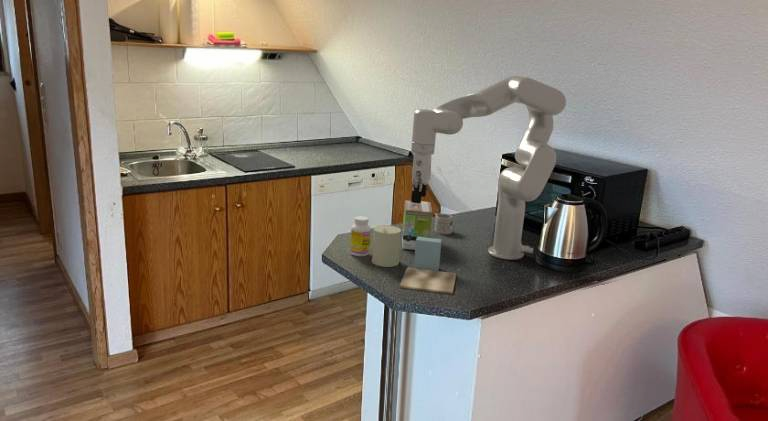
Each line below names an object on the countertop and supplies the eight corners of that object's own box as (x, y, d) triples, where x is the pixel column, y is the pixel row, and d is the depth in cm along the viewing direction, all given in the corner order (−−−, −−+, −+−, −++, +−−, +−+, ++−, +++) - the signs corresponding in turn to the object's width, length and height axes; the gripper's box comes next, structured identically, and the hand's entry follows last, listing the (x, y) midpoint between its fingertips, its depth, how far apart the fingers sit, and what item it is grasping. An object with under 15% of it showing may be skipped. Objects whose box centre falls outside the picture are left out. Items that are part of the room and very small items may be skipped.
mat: (456, 275, 192) (456, 273, 192) (452, 294, 177) (452, 292, 177) (407, 269, 195) (407, 267, 195) (399, 287, 180) (399, 285, 180)
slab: (439, 267, 198) (441, 239, 195) (437, 271, 195) (440, 242, 192) (415, 264, 199) (417, 236, 197) (413, 268, 196) (416, 239, 193)
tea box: (429, 251, 214) (433, 211, 210) (401, 249, 214) (404, 209, 210) (427, 238, 228) (430, 200, 224) (401, 236, 228) (404, 199, 224)
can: (367, 263, 197) (369, 229, 194) (377, 255, 206) (379, 222, 203) (393, 268, 194) (396, 233, 191) (402, 260, 203) (405, 226, 200)
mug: (453, 234, 235) (455, 218, 233) (437, 234, 233) (438, 218, 231) (445, 227, 244) (447, 211, 242) (430, 227, 243) (431, 211, 241)
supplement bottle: (362, 258, 202) (364, 222, 199) (346, 253, 205) (347, 218, 202) (372, 253, 208) (375, 218, 204) (357, 249, 211) (359, 214, 207)
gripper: (430, 153, 184) (425, 207, 189) (438, 145, 201) (433, 195, 205) (406, 151, 186) (402, 204, 190) (416, 143, 202) (411, 192, 207)
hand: (418, 199), depth 198 cm, fingers open, 9 cm apart
